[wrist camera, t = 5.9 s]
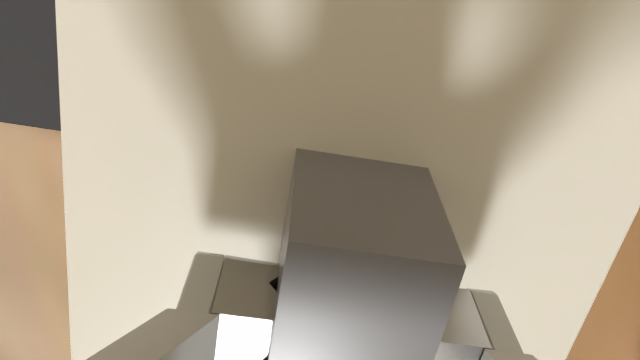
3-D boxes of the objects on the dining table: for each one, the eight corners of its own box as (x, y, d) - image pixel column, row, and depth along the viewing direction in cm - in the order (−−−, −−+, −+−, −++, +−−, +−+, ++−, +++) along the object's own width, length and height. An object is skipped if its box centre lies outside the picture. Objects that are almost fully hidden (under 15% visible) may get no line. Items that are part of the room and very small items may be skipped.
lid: (662, -30, 11) (928, 33, 6) (475, 419, 17) (538, 634, 12) (105, -132, 10) (-86, -150, 5) (108, 376, 16) (16, 587, 11)
